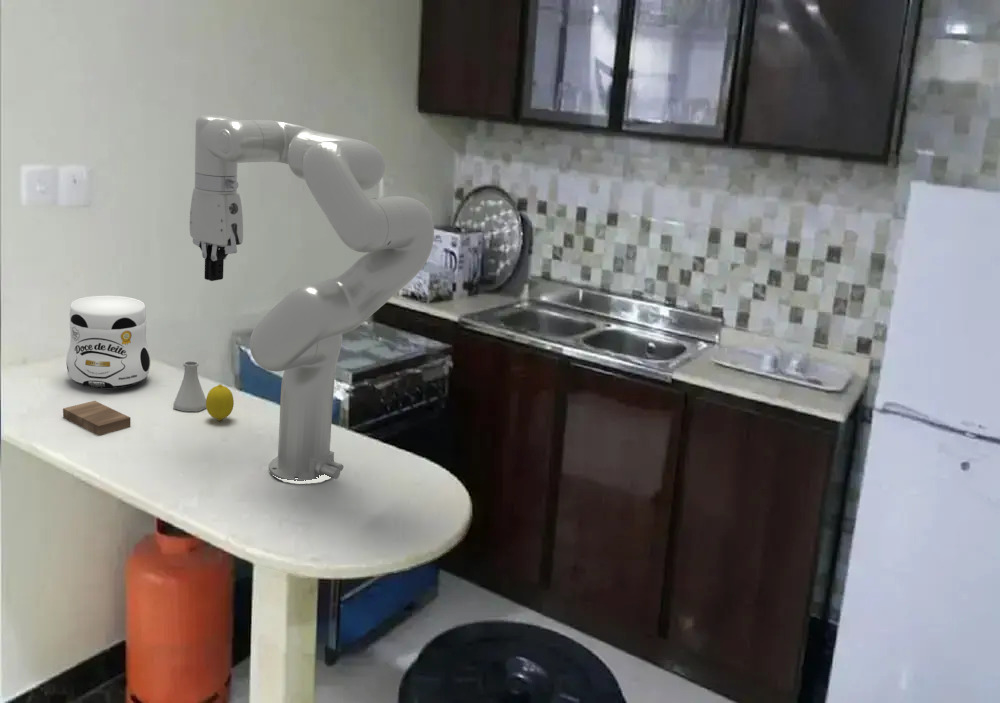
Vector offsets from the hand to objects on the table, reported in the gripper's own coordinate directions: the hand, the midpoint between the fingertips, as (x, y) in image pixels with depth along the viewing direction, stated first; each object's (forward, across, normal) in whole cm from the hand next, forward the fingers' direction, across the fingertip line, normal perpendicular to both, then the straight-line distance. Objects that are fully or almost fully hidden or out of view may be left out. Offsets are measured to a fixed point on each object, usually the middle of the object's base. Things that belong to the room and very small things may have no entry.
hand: (213, 279), depth 178 cm
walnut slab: (+31, +13, +12) cm, 36 cm away
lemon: (+32, +4, -6) cm, 33 cm away
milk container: (+32, +38, -4) cm, 50 cm away
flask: (+32, +14, -7) cm, 36 cm away
